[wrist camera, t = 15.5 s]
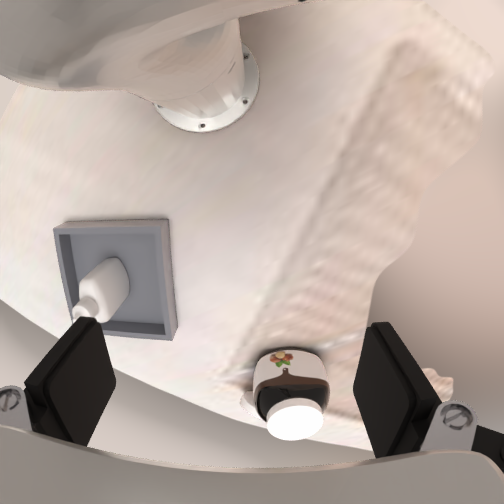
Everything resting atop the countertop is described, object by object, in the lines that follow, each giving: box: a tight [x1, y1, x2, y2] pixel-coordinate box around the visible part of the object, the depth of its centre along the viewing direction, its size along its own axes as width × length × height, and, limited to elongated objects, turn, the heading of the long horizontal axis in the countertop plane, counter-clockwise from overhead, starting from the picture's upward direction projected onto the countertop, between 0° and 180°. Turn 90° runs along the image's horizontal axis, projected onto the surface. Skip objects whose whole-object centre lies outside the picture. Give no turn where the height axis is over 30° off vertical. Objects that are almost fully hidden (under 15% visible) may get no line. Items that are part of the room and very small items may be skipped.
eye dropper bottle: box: [72, 258, 130, 323], centre depth 34 cm, size 4×6×12 cm
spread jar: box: [240, 348, 330, 440], centre depth 40 cm, size 12×11×12 cm
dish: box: [53, 219, 178, 341], centre depth 38 cm, size 15×15×4 cm
